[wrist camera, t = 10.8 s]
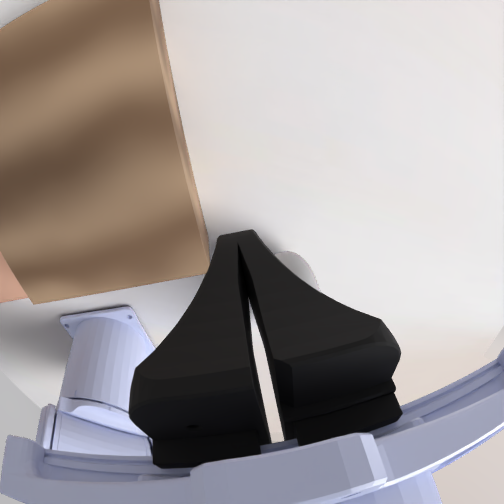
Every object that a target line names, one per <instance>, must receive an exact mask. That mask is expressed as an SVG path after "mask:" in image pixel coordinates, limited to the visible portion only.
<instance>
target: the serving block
mask: <svg viewBox="0 0 504 504" xmlns="http://www.w3.org/2000/svg"><path fill="white" fill-rule="evenodd" d="M0 252H1V253H2V255H3V257H4V259H5V260H6V262H7V264H8V266H9V267H10V269H11V271H12V272H13V274H14V275H15V277H16V279H17V280H18V282H19V283H20V285H21V287H22V288H23V290H24V291H25V293H26V294H27V296H28V297H29V299H30V300H31V302H32V303H33V304H34V305H35V304H40V303H46V302H52V301H58V300H64V299H69V298H75V297H81V296H87V295H92V294H98V293H104V292H109V291H115V290H120V289H126V288H131V287H137V286H142V285H148V284H153V283H159V282H164V281H169V280H175V279H180V278H185V277H191V276H196V275H201V274H206V273H207V270H208V268H209V265H210V257H209V240H208V234H207V230H206V226H205V222H204V218H203V214H202V210H201V205H200V201H199V197H198V193H197V189H196V184H195V180H194V176H193V171H192V167H191V163H190V158H189V154H188V149H187V145H186V140H185V136H184V131H183V126H182V122H181V117H180V112H179V107H178V102H177V98H176V93H175V88H174V83H173V78H172V72H171V67H170V62H169V57H168V51H167V46H166V40H165V35H164V29H163V23H162V17H161V11H160V5H159V0H49V1H47V2H45V3H43V4H41V5H39V6H37V7H35V8H34V9H32V10H30V11H28V12H27V13H25V14H23V15H22V16H20V17H18V18H17V19H15V20H13V21H12V22H10V23H9V24H7V25H6V26H4V27H3V28H1V29H0Z"/></svg>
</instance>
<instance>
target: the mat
mask: <svg viewBox="0 0 504 504" xmlns="http://www.w3.org/2000/svg"><path fill="white" fill-rule="evenodd" d="M24 298H29V297H28V296H27V294H26V293H25V291H24V290H23V288H22V287H21V285H20V283H19V282H18V280H17V279H16V277H15V275H14V274H13V272H12V271H11V269H10V267H9V266H8V264H7V262H6V260H5V259H4V257H3V255H2V253H1V252H0V303H2V302H7V301H13V300H18V299H24Z"/></svg>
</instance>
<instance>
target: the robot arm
mask: <svg viewBox="0 0 504 504" xmlns="http://www.w3.org/2000/svg"><path fill="white" fill-rule="evenodd" d="M248 297H249V299H248ZM249 300H250V304H251V307H252V310H253V313H254V316H255V319H256V323H257V326H258V329H259V332H260V335H261V338H262V341H263V345H264V348H265V352H266V357H267V361H268V366H269V371H270V375H271V380H272V385H273V389H274V394H275V399H276V403H277V408H278V413H279V417H280V422H281V427H282V431H283V436H284V441H282V442H277V443H272V442H271V437H270V432H269V428H268V423H267V418H266V413H265V408H264V403H263V398H262V394H261V389H260V384H259V379H258V373H257V368H256V363H255V358H254V352H253V345H252V334H251V322H250V311H249ZM129 315H131V316H129ZM60 322H61V324H62V325H63V327H64V328H65V329H66V331H67V332H68V333H69V335H70V336H71V337H72V338H73V343H72V347H71V350H70V354H69V358H68V362H67V366H66V370H65V374H64V378H63V383H62V387H61V392H60V397H59V401H58V403H57V406H56V409H55V405H52V404H48V406H45V407H43V408H42V410H41V415H40V420H39V425H38V431H37V436H36V442H35V441H33V440H30V439H27V438H22V437H18V436H13V435H8V436H7V440H6V446H5V452H4V459H3V465H2V473H1V482H0V492H1V494H4V495H6V496H8V497H10V498H13V499H15V500H18V501H20V502H23V503H25V504H442V501H441V498H440V495H439V492H438V490H437V487H436V484H435V481H434V479H433V476H432V473H434V472H436V471H438V470H439V469H441V468H443V467H445V466H447V465H449V464H450V463H452V462H454V461H455V460H457V459H459V458H461V457H462V456H464V455H466V454H467V453H469V452H470V451H472V450H474V449H475V448H476V447H478V446H480V445H481V444H483V443H484V442H486V441H487V440H489V439H490V438H491V437H493V436H494V435H495V434H497V433H499V432H500V431H501V430H503V429H504V349H503V350H502V351H501V352H500V354H499V355H498V358H497V359H495V360H494V361H492V362H490V363H489V364H487V365H485V366H483V367H482V368H480V369H478V370H476V371H474V372H473V373H471V374H469V375H467V376H465V377H463V378H461V379H459V380H457V381H455V382H453V383H451V384H449V385H447V386H445V387H443V388H441V389H439V390H437V391H435V392H433V393H430V394H428V395H426V396H424V397H421V398H419V399H417V400H414V401H412V402H410V403H407V404H405V405H402V406H400V405H399V403H398V401H397V398H396V396H395V394H394V392H395V391H396V386H395V384H394V382H393V380H392V376H393V373H394V371H395V369H396V367H397V365H398V362H399V360H400V356H401V350H400V347H399V345H398V343H397V341H396V340H395V338H394V336H393V335H392V333H391V332H390V330H389V329H388V328H387V327H386V325H385V324H384V323H383V321H382V320H381V319H379V318H376V317H373V316H370V315H368V314H365V313H362V312H360V311H357V310H354V309H352V308H350V307H348V306H346V305H343V304H341V303H339V302H337V301H335V300H333V299H332V298H330V297H328V296H326V295H325V294H323V293H321V292H319V291H318V290H316V289H315V288H313V287H312V286H310V285H309V284H307V283H306V282H305V281H303V280H302V279H301V278H299V277H298V276H297V275H295V274H294V273H293V272H292V271H291V270H290V269H288V268H287V267H286V266H285V265H284V264H283V263H282V262H281V261H280V260H279V259H278V258H277V257H276V256H275V255H274V254H273V253H272V252H271V251H270V250H269V249H268V248H267V247H266V245H265V244H264V243H263V242H262V240H261V239H260V238H259V236H258V235H257V233H256V232H255V231H254V230H246V231H241V232H236V233H231V234H226V235H220V236H219V237H218V239H217V244H216V248H215V251H214V254H213V257H212V260H211V263H210V265H209V268H208V270H207V273H206V275H205V277H204V279H203V281H202V283H201V286H200V288H199V290H198V292H197V293H196V295H195V297H194V299H193V300H192V302H191V304H190V305H189V307H188V309H187V310H186V312H185V313H184V314H183V316H182V317H181V319H180V320H179V322H178V323H177V324H176V326H175V327H174V328H173V330H172V331H171V332H170V333H169V334H168V335H167V337H166V338H165V339H164V340H163V341H162V343H161V344H160V345H159V346H158V347H157V348H156V349H155V347H154V345H153V344H152V342H151V340H150V339H149V337H148V335H147V334H146V332H145V330H144V328H143V327H142V325H141V323H140V321H139V320H138V318H137V316H136V314H135V312H134V311H133V309H132V308H131V307H120V308H113V309H107V310H101V311H94V312H88V313H81V314H74V315H67V316H62V317H61V318H60Z"/></svg>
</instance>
